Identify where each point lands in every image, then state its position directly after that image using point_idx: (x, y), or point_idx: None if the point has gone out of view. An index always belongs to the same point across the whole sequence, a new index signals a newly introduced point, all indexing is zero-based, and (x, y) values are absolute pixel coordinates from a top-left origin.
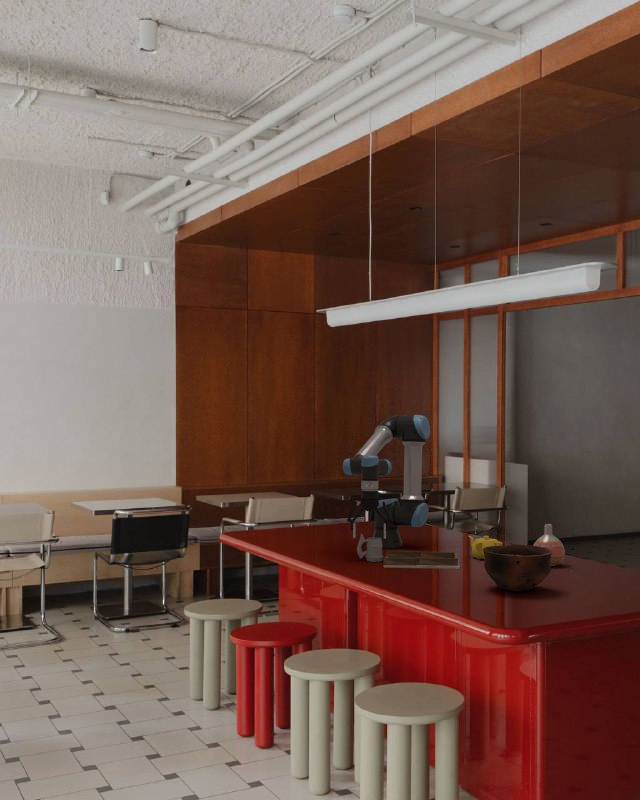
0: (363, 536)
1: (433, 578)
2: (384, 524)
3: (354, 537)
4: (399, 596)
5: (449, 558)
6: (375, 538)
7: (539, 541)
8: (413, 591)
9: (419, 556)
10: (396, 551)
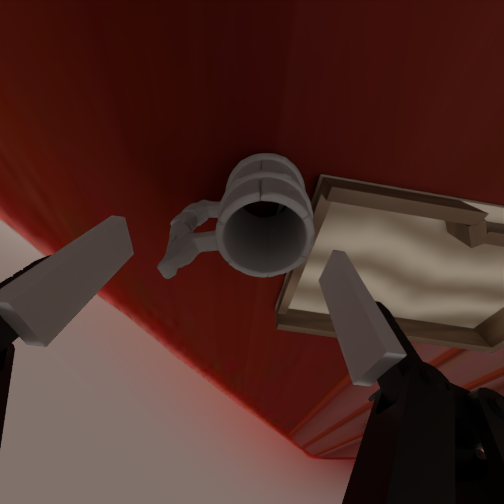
0: (185, 263)
1: (342, 382)
2: (356, 378)
3: (128, 255)
4: (263, 421)
5: (469, 349)
6: (277, 200)
7: None
8: (283, 414)
9: (456, 237)
10: (378, 209)
